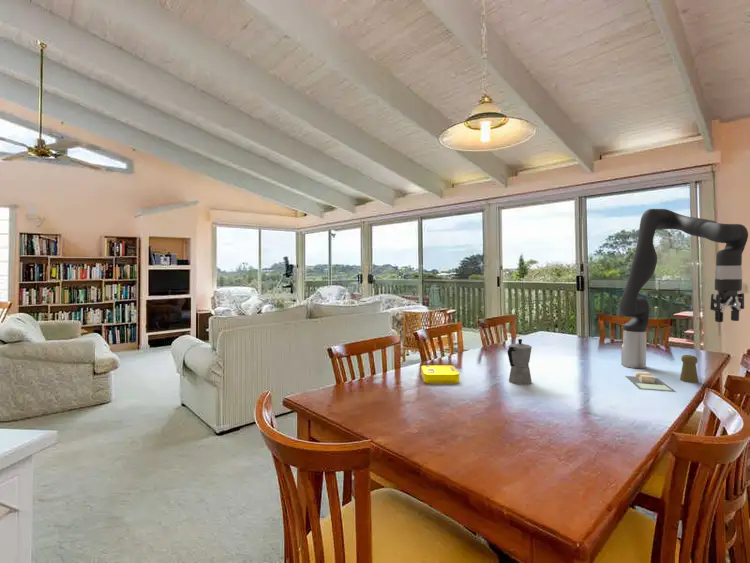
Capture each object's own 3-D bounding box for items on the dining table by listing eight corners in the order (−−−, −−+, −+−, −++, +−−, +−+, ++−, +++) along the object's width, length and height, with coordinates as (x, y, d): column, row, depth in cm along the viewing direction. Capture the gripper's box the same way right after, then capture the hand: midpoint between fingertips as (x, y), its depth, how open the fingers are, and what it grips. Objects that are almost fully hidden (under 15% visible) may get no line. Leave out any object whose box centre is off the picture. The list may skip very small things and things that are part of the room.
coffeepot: (518, 376, 172) (518, 335, 171) (538, 381, 164) (538, 338, 164) (498, 383, 162) (498, 340, 161) (519, 388, 155) (519, 343, 154)
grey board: (624, 376, 169) (624, 375, 169) (657, 378, 166) (657, 377, 166) (639, 390, 151) (639, 388, 151) (676, 393, 147) (676, 391, 147)
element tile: (460, 384, 163) (460, 372, 162) (424, 384, 163) (424, 373, 163) (453, 374, 178) (453, 364, 177) (420, 374, 178) (420, 364, 178)
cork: (691, 379, 164) (692, 353, 164) (702, 383, 158) (702, 357, 158) (676, 379, 164) (676, 353, 164) (686, 383, 158) (686, 356, 158)
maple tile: (635, 377, 167) (635, 371, 167) (647, 377, 166) (647, 372, 166) (641, 382, 160) (641, 376, 160) (654, 383, 158) (654, 377, 158)
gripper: (729, 277, 150) (728, 319, 151) (703, 278, 146) (702, 321, 147) (753, 277, 143) (752, 321, 144) (726, 278, 139) (725, 323, 139)
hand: (726, 321), depth 145 cm, fingers open, 8 cm apart
